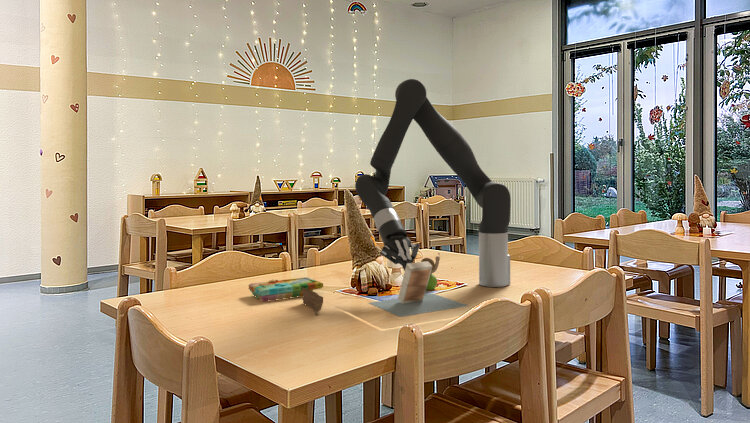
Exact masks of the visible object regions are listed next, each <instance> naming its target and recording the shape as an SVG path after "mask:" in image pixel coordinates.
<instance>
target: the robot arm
mask: <svg viewBox="0 0 750 423" xmlns="http://www.w3.org/2000/svg"><path fill="white" fill-rule="evenodd" d="M394 93H395V95H394V96H395V100H396V101H395V105H394V108H393V112H392V114H391V116H390V119H389V121H388V123H387V125H386V128H384V131H383V133H382V135H381V136H380V138H379V141H378V143H377V144H376V147H375V149H374V152H373V154H372V157H371V159H370V161H369V162H370V163H369V164H370V167H372V168H373V169H375V175H370V174H361V175H359V176H358V177H357V179H356V181H355V184H354V185H355V192H356V194H357V196H358V198H359V199H360V201H362V203H363V204H364V205H365V206H366V207H367V209H368V210H369V211H370V214H371V217H372V219H373V221H374V225H375V227H376V229H377V232H378V234H379V236H380V239H381V240H382V243H383V247H382V248H381V250H380V253H379V254H380V255H381V256H382V257H384V258H385V259H387V260H389V262H392V263H393V264H395V265H398V264H399V265H401V267H402V269H403V271H404V272H405V268H406V264H408V263H414V261H415V259H416V258H417V255H418V252H419V249H420V246H421V245H420V243H419V242H417V243H412V240H411V239H410V238H409V237H408V234H407V231H406V228H405V227H404V224H403V222H402V221H401V218H400V217H399V214H398V213H397V211H396V210H395V209H394V206H393V204H392V201H391V200H390V199H389V197H387V196H386V195H387V193H388V190H389V187H390V186H389V185H390V180H391V174H392V173H391V172H392V168H393V166H394V163H395V161H396V159H397V155H398V154H399V152H400V149H401V147H402V143H403V141H404V139H405V136H406V135H407V132H408V129H409V127H410V126H411V124H412V122H413V121H414V122H415V123H416V124H417V125H418V126H419V127H420V128H421V130H422V132H423V133H424V135H425V137H426V138H427V140H428V141H429V142H430V144H431V145H432V147H433V148H434V149H435V151H436V152H437V153H438V155H439V156H440V157H441V158H442V160H444V162H445V163H446V164H447V166H449V168H450V169H451V170H452V171H453V172H454V173H455V174H456V175H457V177H458V178H460V180H461V181H462V182H463V184H464V185H465V186H466V188H467V189H468V191H469V193H470V194H471V196H472V197H473V199H474V200H475V202H476V204H477V205H478V206H479V207H480V208H482V216H481V217H482V218H481V221H480V222H479V224H478V282H479V283H478V284H479V285H480V286H483V287H489V288H500V287H506V286H508V285H511V255H510V254H509V242H508V241H509V232H508V230H509V226H510V222H511V203H512V202H511V201H512V199H511V193H510V190H509V188H508V186H506V185H505V184H502V183H500V182H494V181H493V180H492V179H491V178H490V177H489V176H488V175H487V174H486V173H485V172H484V171H483V170H482V168H481V167H480V165H479V163H478V161H477V159H476V157H475V154H474V152H473V149H472V148H471V145H470V144H469V143H468V142H467V140H466V139H465V138H464V136H463V135H462V134H461V133H460V131H459V130H458V129H457V128H456V127H455V126H454V125H453V124H452V123H451V122H450V121H449V120H447V119H446V118H445V117H444V116H443V115H442V114H440V112H438V110H437V109H436V108H435V107H434V105H433V104H432V102H431V101H430V99H429V98H428V96H427V89H426V86H425V85H424V83H423V82H422V81H421V80H419V79H417V78H416V79H415V78H408V79H406V80H403V81H401V83H399V84H398V86H397V87H396V90H395V92H394Z"/></svg>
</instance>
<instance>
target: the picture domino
mask: <svg viewBox="0 0 750 423" xmlns="http://www.w3.org/2000/svg"><path fill="white" fill-rule="evenodd" d="M431 270H432V265H431V264H430V263H429V262H428V261H425V262H421V261H418V262H412V263H408V264H406V268H405V271H404V272H403V275H402V277H403V278H402V281H401V285H400V288H399V294H398V297H397V299H399V301H400V302H401V303H402V304H404V303H411V302H418V301H423V299H424V295H426V292H427V290H426V288H427V284H428V281H429V277H430V274H431Z"/></svg>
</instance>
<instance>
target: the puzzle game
mask: <svg viewBox="0 0 750 423" xmlns="http://www.w3.org/2000/svg"><path fill="white" fill-rule="evenodd" d="M301 287H302V288H306V289H308V290H311V291H313V292H314V290H315V291H316V290H319V289H322V288H324V283H323V282H321V281H319V280H316V279H313V278H311V277H296V278H289V279H279V280H278V279H270V280H268V281H262V282H253V283H249V284H248V290H249V291H250V292H251V294H252V296H253V295H254V296H256V297H258V298H259V299H258V298H257V299H258V300H260V299H261V300H263V301H267V302H269V301H268V300H274V301H277V300H276V299H281V300H284V299H283V298H288V299H291V298H290V297H295V298H298V297H297V296H302V297H304V296H303V294H302V288H301ZM254 296H253V297H254ZM256 297H255V298H256ZM261 300H260V301H261ZM263 301H262V302H263Z"/></svg>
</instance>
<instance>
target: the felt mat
mask: <svg viewBox="0 0 750 423" xmlns="http://www.w3.org/2000/svg"><path fill="white" fill-rule="evenodd" d="M368 304H369V305H371V306H374V307H377V308H378V309H381V310H383V311H386V312H387V313H390V314H393V315H395V316H397V317H399V318H401V317H409V316H415V315H420V314H421V315H422V314H427V313H432V312H440V311H444V310H445V311H446V310H451V309H457V308H464V307H469V306H470V305H468V304H466V303H463V302H459V301H458V300H457V301H456V300H453V299H450V298H448V297H444V296H441V295H438V294H435V293H428V294H427V293H425V295H424V299H423V301H418V302H411V303H404V304H402V303H401V302H400V301H399V299H398V298H394V299H387V300H379V301H372V302H368Z"/></svg>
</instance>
